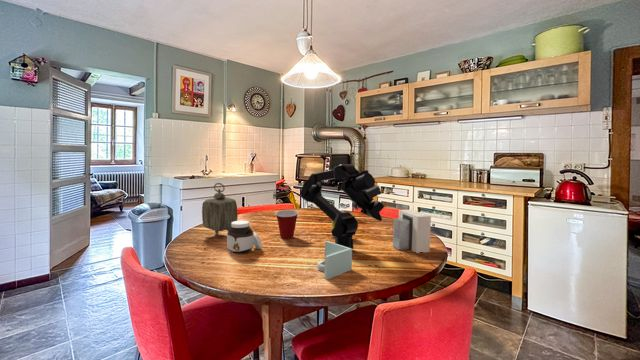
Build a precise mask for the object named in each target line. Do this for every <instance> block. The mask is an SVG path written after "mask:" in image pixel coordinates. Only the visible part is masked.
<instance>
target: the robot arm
mask: <svg viewBox="0 0 640 360" xmlns="http://www.w3.org/2000/svg"><path fill="white" fill-rule="evenodd" d="M330 180H344V181H339V182H338V184H337V192H340V191H342V192H344V193H345V195H346V196H347V197H348V198H349V201H351V202H352V204H351V207H353V209H354V210H356V211H358V210H359V209H360V213H362V214H364V215H366V216H368V217H370V218H372V219H374V220H377V221H379V222H381V221H383V218H382V215H381V214H380V212H381V211H382V210H383V209H384V208H385V204H384V203H383V202H381V201H380V200H379V201H378V200H375V199H374V198H375V197H377V196H379V195H382V190H381V188H380V185H376V179H375V178H374V176H373V175H372V174H371V173H369V170H366V169H363V170H362V171H361V172H360V171H359V170H358V169H357V168H356V167H355V166H354V164H352V163H349V164H348V163H347V164H339V165H337V166H334V167H333V168H332V169H330V170H324V171H320V172H314V173H311V174H310V175H309V178H308V179H307V180H306V181H305V182H304V183H303V185H302V187H301V189H300V197H301V198H302V199H303V200H304V201H305V202H308V203H312V204H314V205H315V206H316V207H317V208H318V209H319V210H321V212H323V213H324V214H325V215H326V216H327V217H328V218H329V219H330V220H331V221H332V220H333V222H334V228H333V230H332V229H331V231H330V232H331V237H332V236H334V237H333V238H334V243H335V244H339V245H342V246H345V247H348V248H352V253H354V251H355V250H354V239H353V236H355V235H356V233H357V231H358V228H359V223H358V220H357V219H356V216H354V215H352V213H351V212H349V211H347V212H346V211H344V213H341V212H340V211H339V210H338V209H339V208H337V207H336V206H334V204H332V203H331V202H330V201H329V200H328V199H326V198H325V197H324V196H323V195H322V189H323V185H322V183H323V182H326V181H330ZM315 183H316V185H314V184H315Z"/></svg>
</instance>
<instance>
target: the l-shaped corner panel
mask: <svg viewBox="0 0 640 360" xmlns="http://www.w3.org/2000/svg"><path fill="white" fill-rule="evenodd" d="M352 250H353V249H352V248H348V247H345V246H342V245H339V244H335V242H332V241H328V240H325V241H324V260H321V261H319V262H317V263H316V264H317V265H316V269H317V270H318V271H320V272H323V273H324V274H323V275H324V279H325V280H330V279H332V278H334V277H338V276H339V275H342V274H344V273H346V272H349V271H351V270H352V269H353V252H352Z"/></svg>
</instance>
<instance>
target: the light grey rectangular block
mask: <svg viewBox="0 0 640 360" xmlns="http://www.w3.org/2000/svg"><path fill="white" fill-rule="evenodd" d="M392 228H393V232H392V247H393V248H395V249H397V250H398V251H404V250H410V246H411V219H409V218H399V217H397V218H393V227H392Z"/></svg>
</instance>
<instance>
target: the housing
mask: <svg viewBox="0 0 640 360" xmlns="http://www.w3.org/2000/svg"><path fill="white" fill-rule="evenodd" d="M398 218H409V219H411V246H410V249H409V250H410V251H412V252H413V251H414V253H415V252H416V253H415V254H420V252H423V253H430V248H431V247H430V246H431V244H430V242H431V227H432V225H431V223H432V219H431V218H432V217H431V215H429V214H426V213H422V212H419V211H417V210H413V209H399V210H398Z"/></svg>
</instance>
